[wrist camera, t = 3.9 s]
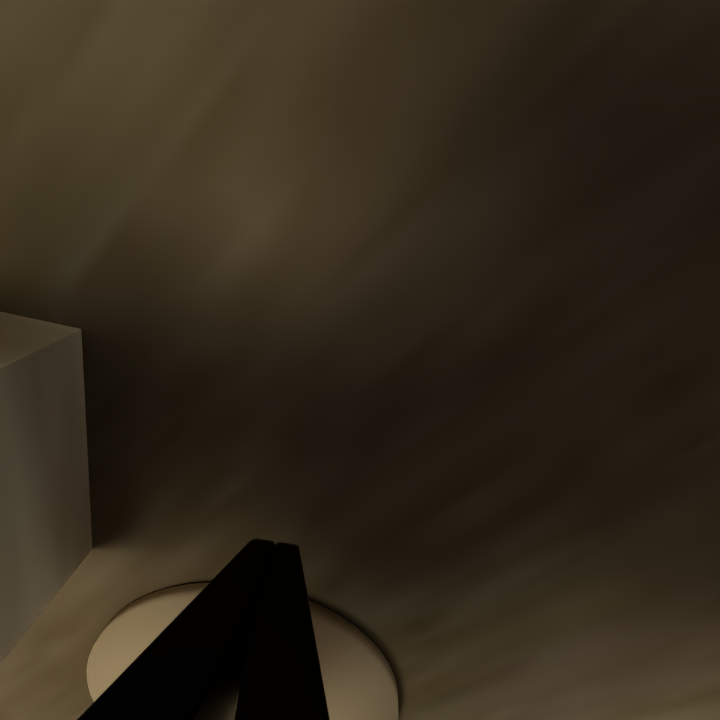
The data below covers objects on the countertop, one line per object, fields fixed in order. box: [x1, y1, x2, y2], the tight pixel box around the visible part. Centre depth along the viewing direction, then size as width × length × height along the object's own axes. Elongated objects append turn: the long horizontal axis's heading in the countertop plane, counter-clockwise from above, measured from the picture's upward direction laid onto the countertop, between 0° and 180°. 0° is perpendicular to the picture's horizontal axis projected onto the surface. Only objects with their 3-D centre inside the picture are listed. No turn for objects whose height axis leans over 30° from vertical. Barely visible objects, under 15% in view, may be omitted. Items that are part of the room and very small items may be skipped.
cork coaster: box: [87, 582, 398, 720], centre depth 12 cm, size 9×9×1 cm
